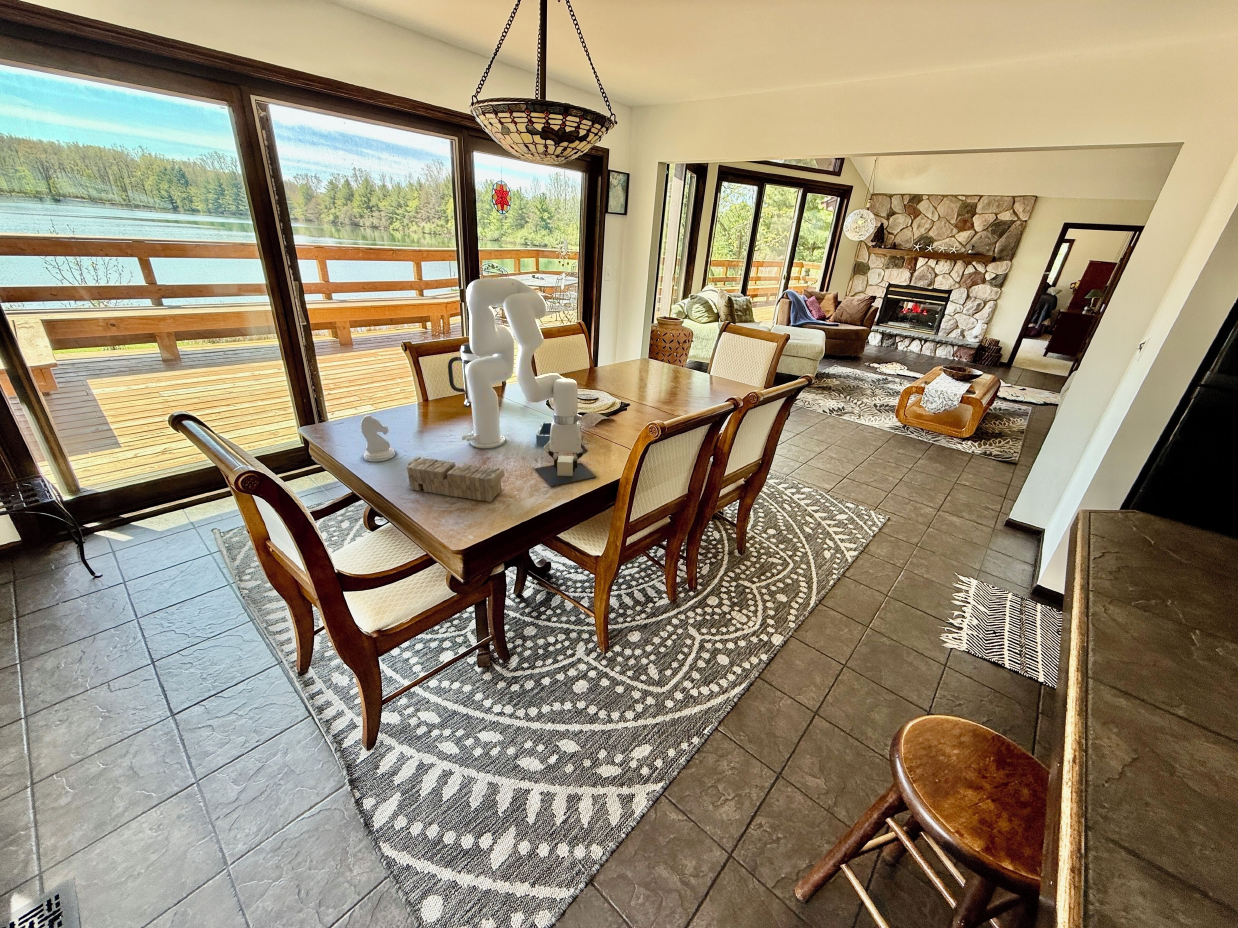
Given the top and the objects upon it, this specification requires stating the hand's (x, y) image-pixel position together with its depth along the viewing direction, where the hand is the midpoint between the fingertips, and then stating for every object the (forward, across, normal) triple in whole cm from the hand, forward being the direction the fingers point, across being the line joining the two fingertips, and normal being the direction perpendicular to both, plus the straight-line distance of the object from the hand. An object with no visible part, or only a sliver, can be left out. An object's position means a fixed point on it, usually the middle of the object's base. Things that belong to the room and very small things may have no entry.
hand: (565, 469), depth 160 cm
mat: (+2, 0, 0) cm, 2 cm away
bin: (+2, +5, -27) cm, 28 cm away
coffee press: (+2, +48, -68) cm, 83 cm away
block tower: (+2, +32, +15) cm, 35 cm away
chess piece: (+2, +66, -7) cm, 66 cm away
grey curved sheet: (+2, -8, -51) cm, 51 cm away
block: (+1, 0, 0) cm, 1 cm away
